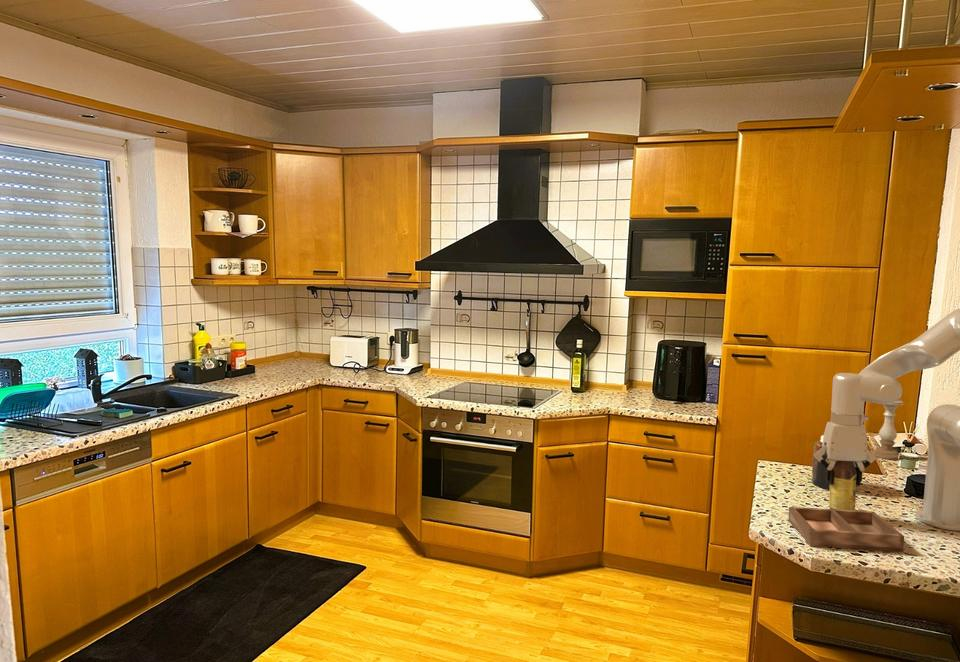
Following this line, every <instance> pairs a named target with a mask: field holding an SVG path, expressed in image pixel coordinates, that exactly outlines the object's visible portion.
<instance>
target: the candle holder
mask: <svg viewBox="0 0 960 662" xmlns="http://www.w3.org/2000/svg"><path fill="white" fill-rule="evenodd" d="M882 405H883V408H884V409H885V411H884V412H883V416H884V422H883V425H882V426H881V428H880V430H879V432H878V436H879V437H880V439H879V443H880V445H881V446H880V447H876V448H875V449H873V450H871V453H872V454H873V455H874V456H875V457H876V458H881V459H884V460H885V459H886V460H899V459H898V455H899V454H900V453H899V452H898V450H895V449H893V447H894V446H895V444H896V442H895V440H896V439H897V438H898V437H897V436H898V433H897V430H896V428H895V425H894V424H895V423H894V422H895V417H897V415H896V413H895V410H896V409H898V407H899V406H903V405H904V401H902V400H899V399H898V400H897V401H896V402H893V403H890V404H882Z"/></svg>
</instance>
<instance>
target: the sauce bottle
mask: <svg viewBox="0 0 960 662" xmlns="http://www.w3.org/2000/svg"><path fill="white" fill-rule="evenodd" d="M832 470H833V471H834V484H833V485H830V490H829V499H828V500H829V501H828V504H829V505H828V507H829V509H838V510H855V511H856V499H857V485H856V470H855V467H854V464H853V461H836V463H835V464H834V466H833V469H832Z"/></svg>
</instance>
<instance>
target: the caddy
mask: <svg viewBox="0 0 960 662" xmlns="http://www.w3.org/2000/svg"><path fill="white" fill-rule="evenodd" d="M788 507H789V508H788V520H787V521H788V523H789V522H790V523H791V524H792V525H791V524H790V523H789V524H790V525H791V527H792V528H794V530H795V529H796V530H797V531H798V532H799V533H800V534H801V535H800V534H799V533H798V532H797V531H796V530H795V531H796V532H797V533H798V534H799V535H800V537H803V538H804V539H805V540H806V541H805V540H804V539H803V538H802V539H803V540H804V541H805V542H806V544H808V545H810V546H809V547H815V546H816V547H819V548H830V547H834V549H846V548H850V549H849V550H861V549H865V550H864V551H879V552H880V551H881V552H892V553H893V552H894V553H896V552H897V553H904V546H905V545H904V543H905V535H904V534H902V533H901V532H900V531H899V530H898V529H896V528H895V527H894V526H893V525H891V523H889V522H888V521H886V520H885V519H884V518H883V517H881V516H880V515H879V514H878V513H876V512H875V511H869V510H856V509H855V510H838V509H830V508H818V507H817V508H815V507H800V506H788Z"/></svg>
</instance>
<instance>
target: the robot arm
mask: <svg viewBox="0 0 960 662" xmlns="http://www.w3.org/2000/svg"><path fill="white" fill-rule="evenodd" d="M959 351H960V308H957V309H955V310H953V311H951V312H950V313H948V314H947V315H945V316H944V317H943V318H942V319H940V320H938V321H937V323H935V324H934V325H932V326H931V327H929V328H927V330H926V331H924V332H923V333H922V334H921V335H919V336H917V337H916V338H914V339H913V340H912V341H910V342H908V343H906V344H902V346H900V347H897V348H895V349H893V350H891V351H889V352H886V353H885V354H883V355H881V356H879V357H878V358H876V359H875V360H873V361H872V362H870V363H869V364H868V365H867V366H865V367H864V368H863V369H862V370H861V371H860V372H858V373H852V372H839V373H836V374H835V375H834V376H833V378H832V390H831V406H830V407H831V410H830V411H831V412H830V421H827V423H826V425H825V429H824V433H823V435H824V437H823V443H822V448H820V449H819V450H818V451H817V452H816V453H814V452H813V453H814V457H815V458H816V459H817V460H818V461H819V462H820V463H821V464H822V465H823V466H824V467H825V480H826V481H827V482H828V483H829V484H830V485H833V484H834V471H833V470H832V469H833V466H834V464H835V463H836V461H853V462H854V464H855V470H856V487H857V486H858V487H860V486H861V484H862V483H861V482H863V472H865V471H866V469H867V468H868V467H869V466H870V465H871V464H872V463H873V462H874V461H876V459H877V457H876V456H874V455H873V454H872V451H870V450H869V449H868V436H867V435H868V434H867V430H866V429H867V428H866V425H865V424H864V422H865V421H868V420H869V415H866V414H864V411H865V408H864V407H865V402H866V403H867V402H868V403H873V404H874V403H875V404H880V405H884V404H890V403H893V402H896V401H897V400H899V399H901V397H902V394H903V388H902V385H901V383H900V382H899V381H898V380H897V379H898V378H900V377H902V376H904V375H906V374H908V373H911V372H916V371H920V370H921V371H922V370H927V369H932V368H936V367H939V366H940V365H942V364H944V363H945V362H947V361H948V360H949V359H950V358H951V357H953V356H955V355H956V354H957V353H958V352H959ZM926 431H927V443H928V447H927V448H928V449H927V450H928V451H927V459H926V460H927V462H926V472H925V479H924V480H925V481H924V482H925V483H924V494H923V504H922V508H919V509H917V510H915V514H914V515H915V517H916V519H917V520H918V521H921V522H922V523H924V524H926V525H929V526H931V527H936V528H938V529H943V530H949V531H954V532H955V531H956V532H960V406H959V405H956V404H947V403H946V404H941V405H938V406H936V407H934V408H933V409H932V410H931V411H930V412H929V414H928V417H927V421H926ZM822 455H824V456H827V459H826V461H825V460H824V459H823V458H822Z"/></svg>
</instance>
